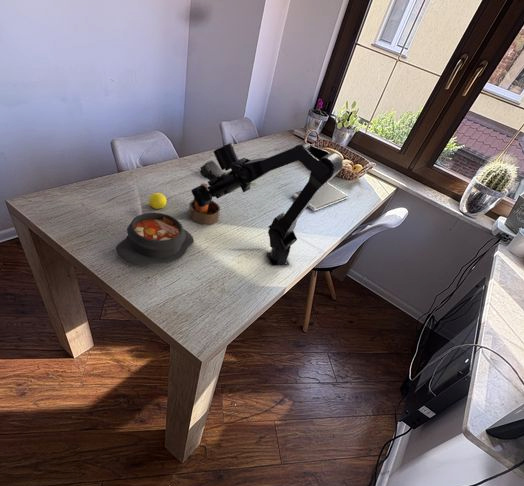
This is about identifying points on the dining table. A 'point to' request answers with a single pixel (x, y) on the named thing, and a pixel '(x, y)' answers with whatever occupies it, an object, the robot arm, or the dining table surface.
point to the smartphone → (325, 197)
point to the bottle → (204, 208)
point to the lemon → (157, 200)
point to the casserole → (154, 240)
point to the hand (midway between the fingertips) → (199, 197)
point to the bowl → (201, 218)
